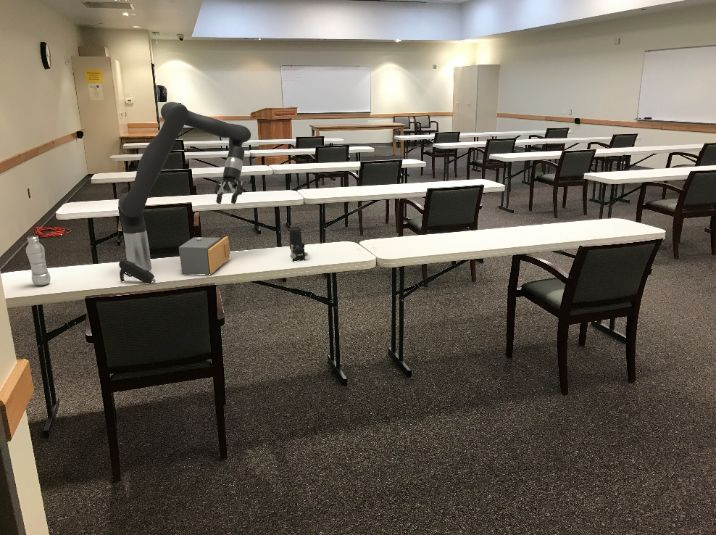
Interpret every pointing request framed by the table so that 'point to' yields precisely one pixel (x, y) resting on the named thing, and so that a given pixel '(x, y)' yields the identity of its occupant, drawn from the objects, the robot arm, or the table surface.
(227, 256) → the side door
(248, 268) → the table surface
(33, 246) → the plastic bottle
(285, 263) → the table surface
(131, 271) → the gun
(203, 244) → the grey cabinet body
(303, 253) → the scope
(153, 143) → the robot arm
